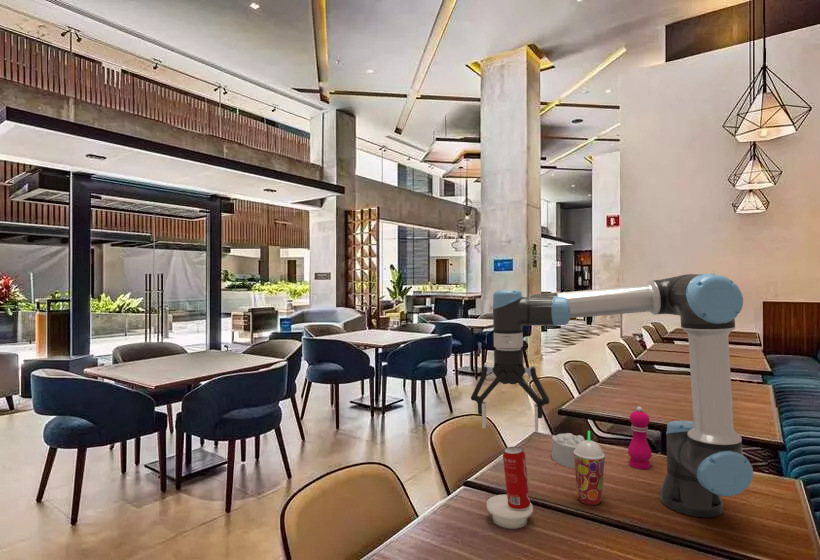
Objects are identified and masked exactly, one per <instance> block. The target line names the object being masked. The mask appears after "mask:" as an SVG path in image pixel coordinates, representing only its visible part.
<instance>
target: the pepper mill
mask: <svg viewBox="0 0 820 560" xmlns="http://www.w3.org/2000/svg"><path fill="white" fill-rule="evenodd" d="M629 421H630V423H631V430H632V439H631V441H630V442H629V445H628V447H627V454H628V456H629V457H630V458H629V465H630V467H632V468H634V469H637V470H638V469H639V470H648V469H650V468H651V461H650V460H651V458H652V449H651V447H650V445H649V443H648V438H647V432H648V431H649V429H648V428H649V426H648V425H649V423H650V417H649V415H648V414H647V413H646V412H644V411H643V408H642V407H641V406H637V407H636V410H635V411H633V412H631V413H630V414H629Z"/></svg>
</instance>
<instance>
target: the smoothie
mask: <svg viewBox="0 0 820 560" xmlns="http://www.w3.org/2000/svg"><path fill="white" fill-rule="evenodd" d="M605 457H606V454H605V452H604V451H603V449H602V448H601V445H599V443H597V442H595V441H594V440H591V431H590V430H587V439H584V441H582V442H580V443H579V444H578V445H577V447H576V449H575V450H574V461H575V468H574V472H575V473H574V474H575V485H576V486H575V487H576V496H577V497H578V500H579V501H580V502H581V503H583V504H585V505H589V506H595V505H599V504H600V503H601V501H602V499H603V490H604V489H603V487H604V473H605V472H604V471H605V470H604V469H605Z"/></svg>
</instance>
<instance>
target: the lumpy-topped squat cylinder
mask: <svg viewBox="0 0 820 560" xmlns="http://www.w3.org/2000/svg"><path fill="white" fill-rule="evenodd" d="M584 440H585V437H584V436H583V435H579V434H578V435H574V434H573V433H570V432H566V433H558V434H556V435H553V436H552V438H551V457H552V459H553V460H554V461H555V462H556V463H558V464H559V465H560V466H563V467H566V468H571V469H575V461H574V450H575V449H576V447H577V445H578V444H579V443H580V442H582V441H584Z"/></svg>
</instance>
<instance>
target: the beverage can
mask: <svg viewBox="0 0 820 560" xmlns="http://www.w3.org/2000/svg"><path fill="white" fill-rule="evenodd" d="M502 459H503V460H502V461H503V469H504V477H505V478H504V479H505V486H506V487H505V488H506V489H505V490H506V494H507V499H508V505H509V507H510V508H512V509H514V510H525V509H527V508H528V507H529V506H530V502H531V499H530V490H529V488H530V487H529V479H528V471H527V460H526V453H525V451H524V449H523V448H522V447H520V446H508V447H505V448H504V449H503V454H502Z"/></svg>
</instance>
